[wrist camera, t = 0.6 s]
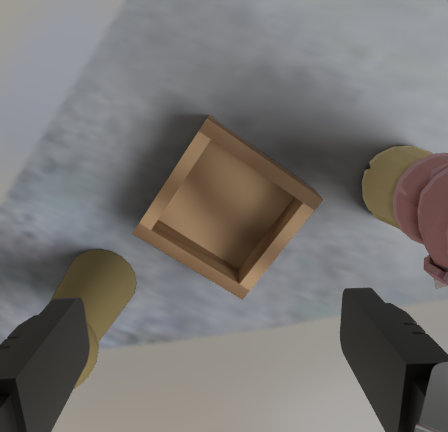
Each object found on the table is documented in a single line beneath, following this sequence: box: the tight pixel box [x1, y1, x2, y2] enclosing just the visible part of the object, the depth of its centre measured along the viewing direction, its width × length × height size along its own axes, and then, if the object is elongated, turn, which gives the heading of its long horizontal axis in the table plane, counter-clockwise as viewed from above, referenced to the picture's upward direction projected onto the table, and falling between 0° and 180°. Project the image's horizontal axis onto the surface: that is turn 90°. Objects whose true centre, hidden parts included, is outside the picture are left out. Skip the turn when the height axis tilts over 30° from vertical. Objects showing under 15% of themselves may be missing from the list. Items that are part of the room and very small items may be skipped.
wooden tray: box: [132, 116, 323, 300], centre depth 28 cm, size 10×10×3 cm
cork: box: [50, 249, 137, 389], centre depth 26 cm, size 6×6×11 cm
